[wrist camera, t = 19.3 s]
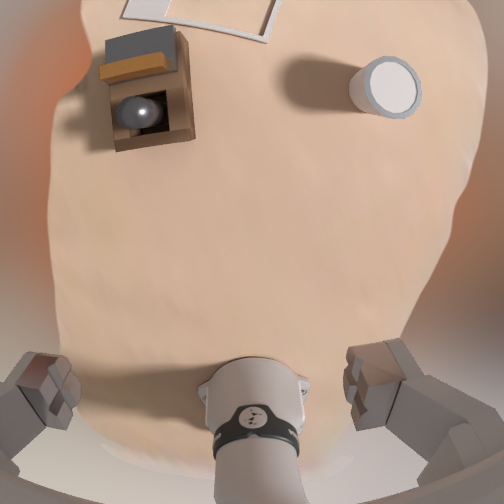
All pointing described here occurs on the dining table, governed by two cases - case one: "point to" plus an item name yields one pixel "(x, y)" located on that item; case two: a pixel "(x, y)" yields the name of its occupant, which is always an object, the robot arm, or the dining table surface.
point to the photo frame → (156, 6)
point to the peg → (141, 113)
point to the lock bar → (140, 55)
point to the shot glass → (386, 88)
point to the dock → (155, 86)
